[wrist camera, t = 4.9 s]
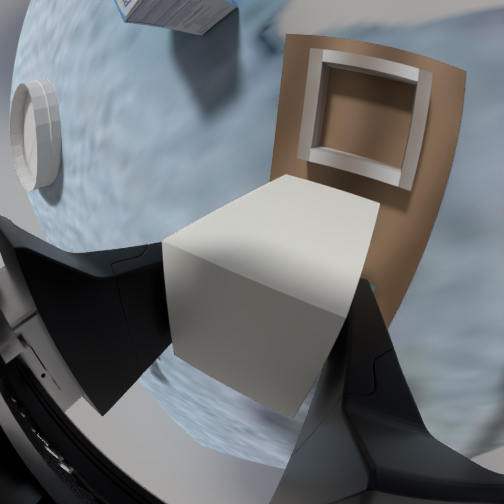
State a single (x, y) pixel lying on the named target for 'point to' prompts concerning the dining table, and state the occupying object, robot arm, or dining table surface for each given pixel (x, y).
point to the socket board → (372, 141)
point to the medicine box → (176, 13)
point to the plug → (267, 286)
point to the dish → (35, 134)
